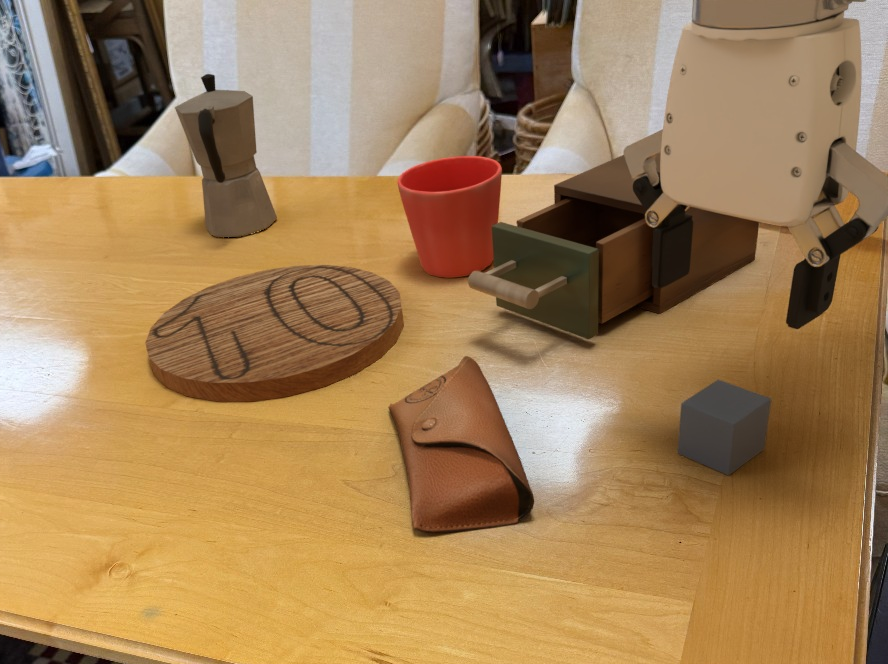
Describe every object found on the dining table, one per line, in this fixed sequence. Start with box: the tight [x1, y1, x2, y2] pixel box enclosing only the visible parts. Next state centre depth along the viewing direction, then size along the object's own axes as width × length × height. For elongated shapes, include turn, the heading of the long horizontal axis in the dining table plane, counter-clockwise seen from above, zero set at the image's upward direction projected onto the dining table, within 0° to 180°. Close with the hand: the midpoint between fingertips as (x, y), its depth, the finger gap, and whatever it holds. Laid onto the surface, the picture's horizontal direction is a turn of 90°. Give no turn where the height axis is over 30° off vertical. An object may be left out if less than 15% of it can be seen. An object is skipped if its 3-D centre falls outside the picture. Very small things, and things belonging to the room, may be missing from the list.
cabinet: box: [553, 153, 760, 315], centre depth 87 cm, size 15×13×10 cm
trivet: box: [144, 264, 405, 403], centre depth 88 cm, size 25×25×2 cm
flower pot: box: [397, 155, 503, 279], centre depth 95 cm, size 11×11×10 cm
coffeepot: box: [174, 73, 278, 239], centre depth 110 cm, size 15×9×18 cm, turn 1°
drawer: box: [467, 197, 654, 340], centre depth 82 cm, size 19×11×8 cm, turn 129°
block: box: [677, 379, 772, 476], centre depth 63 cm, size 4×4×4 cm
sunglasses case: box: [388, 355, 535, 534], centre depth 67 cm, size 18×7×7 cm, turn 7°
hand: (734, 299), depth 57 cm, fingers open, 9 cm apart
